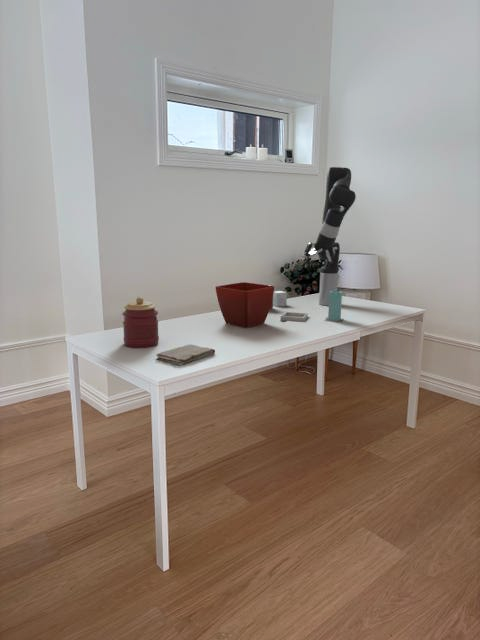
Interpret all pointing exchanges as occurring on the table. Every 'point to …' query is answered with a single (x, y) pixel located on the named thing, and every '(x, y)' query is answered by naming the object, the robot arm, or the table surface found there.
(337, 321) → the square wooden base
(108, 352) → the table surface
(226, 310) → the plant pot
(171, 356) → the washcloth
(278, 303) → the skincare box
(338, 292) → the teal square tube
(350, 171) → the robot arm
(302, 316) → the tray
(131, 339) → the canister
